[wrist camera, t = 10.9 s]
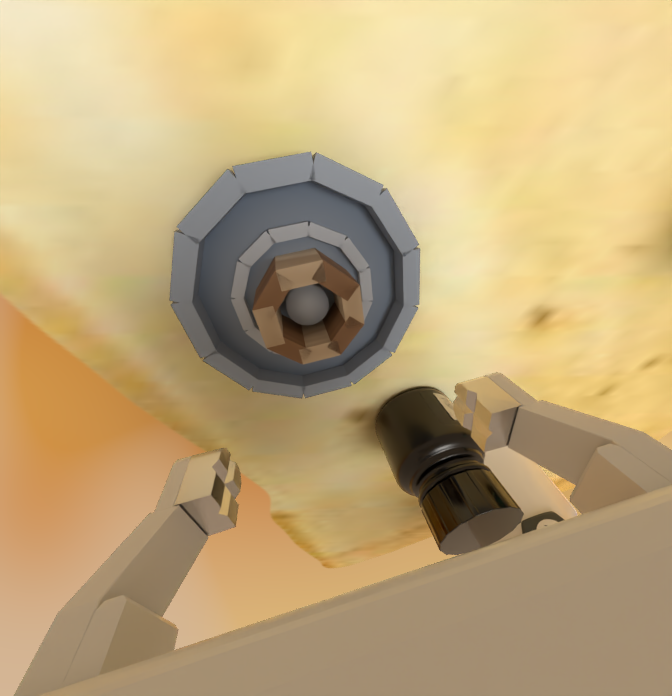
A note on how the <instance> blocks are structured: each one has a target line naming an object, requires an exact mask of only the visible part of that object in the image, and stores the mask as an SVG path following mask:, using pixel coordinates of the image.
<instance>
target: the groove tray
mask: <svg viewBox="0 0 672 696" xmlns="http://www.w3.org/2000/svg"><path fill="white" fill-rule="evenodd" d="M232 167H233V170H234V173H235V174H234V173H233V172H232V171H231V170H229V169H227V170H226V171H225V172H224V174H223V175H222V176H221V177H220V178H219V179H218V180H217V182H216V183H215V184H214V185H213V186H212V187H211V188H210V189H209V191H208V192H207V193H206V194H205V195H204V196H203V197H202V198H201V200H200V201H199V202H198V203H197V204H196V205H195V206H194V208H193V209H192V210H191V211H190V212H189V213H188V214H187V215H186V217H185V218H184V219H183V220H182V221H181V222H180V223H179V225H178V226H177V228H179V230H177V231H175V233H174V246H173V260H172V274H171V287H170V301H174V302H173V303H172V304H171V306H172V308H173V310H174V312H175V314H176V315H177V317H178V319H179V321H180V323H181V324H182V326H183V328H184V330H185V332H186V333H187V335H188V337H189V339H190V341H191V342H192V344H193V346H194V348H195V350H196V351H197V353H198V355H199V357H200V358H202V357H204V360H203V361H204V362H206V363H207V364H209V365H210V366H212V367H213V368H215V369H216V370H218V371H220V372H221V373H223V374H224V375H226V376H227V377H229V378H231V379H232V380H234V381H235V382H237V383H238V384H240V385H242V386H243V387H245V388H246V389H248V390H250V389H251V388H252V387H253V390H252V391H253V392H260V393H267V394H274V395H282V396H289V397H296V398H302V397H303V394H304V396H305V398H308V397H311V396H315V395H319V394H323V393H326V392H330V391H334V390H338V389H341V388H345V387H349V386H351V382H352V383H353V384H356V383H357V382H358V381H359V380H361V379H362V378H363V377H365V376H366V375H367V374H368V373H370V372H371V371H372V370H374V369H375V368H376V367H378V366H379V365H380V364H381V363H383V362H384V361H385V360H387V359H388V358H389V357H391V356H392V354H391V353H390V352H394V353H395V351H396V349H397V347H398V345H399V343H400V341H401V339H402V338H403V336H404V334H405V332H406V330H407V328H408V326H409V324H410V323H411V321H412V319H413V317H414V315H415V313H416V311H417V309H418V307H416V306H415V305H419V284H420V248H417V246H418V245H419V244H418V242H417V240H416V238H415V237H414V235H413V233H412V231H411V230H410V228H409V226H408V224H407V223H406V221H405V219H404V217H403V216H402V214H401V212H400V210H399V209H398V207H397V205H396V203H395V202H394V200H393V198H392V197H391V195H390V193H389V191H388V190H387V188H386V189H382V187H383V185H382V184H380V183H378V182H376V181H374V180H372V179H370V178H368V177H366V176H364V175H362V174H360V173H358V172H355V171H353V170H351V169H349V168H347V167H345V166H343V165H341V164H339V163H337V162H335V161H333V160H331V159H329V158H327V157H325V156H323V155H321V154H319V153H317V152H316V153H315V154H314V155H313V157H312V154H311V152H307V153H301V154H296V155H290V156H285V157H280V158H274V159H269V160H263V161H258V162H253V163H247V164H242V165H236V166H232ZM311 248H316V249H317V250H319V251H320V252H321V253H323V254H324V255H326V256H327V257H329V258H330V259H332V260H333V261H334V262H336V263H337V264H339V265H340V266H342V267H343V268H344V269H346V270H347V271H348V272H349V274H350V275H351V276H352V277H353V278H354V279H355V280H356V281H357V282H358V284H359V285H360V290H361V298H362V307H363V315H364V326H363V327H362V328H361V329H360V331H359V332H358V333H357V335H356V336H355V337H354V339H353V340H352V341H351V342H350V344H349V345H348V346H347V348H346V349H345V350H344V352H343V353H342V354H340V355H339V356H335V357H331V358H327V359H323V360H319V361H315V362H311V363H307V364H304V365H303V364H300V363H298V362H296V361H293V360H291V359H289V358H287V357H284V356H282V355H280V354H278V353H275V352H273V351H271V350H269V349H267V348H266V346H265V343H264V341H263V338H262V335H261V333H260V330H259V327H258V325H257V322H256V319H255V317H254V314H253V311H252V309H253V304H254V298H255V292H256V289H257V287H258V285H259V284H260V282H261V280H262V278H263V276H264V275H265V273H266V271H267V269H268V268H269V266H270V264H271V262H272V261H273V259H274V257H275V256H279V255H283V254H288V253H293V252H297V251H302V250H306V249H311ZM334 302H335V301H334V295H333V292H332V291H330V290H329V289H327V288H326V287H324V286H322V285H321V284H319V283H317V284H312V285H308V286H304V287H299V288H295V289H291V290H289V292H288V294H287V295H286V297H285V299H284V300H283V302H282V303H281V305H280V310H281V314H282V315H284V316H286V317H288V318H290V319H292V320H293V321H295V322H296V323H298V324H301V325H313V324H316V323H318V322H320V321H321V320H322V319H323V318H324V317H325V316H326V314H327V312H328V311H329V309H330V308H331V306H332V305H333V303H334Z"/></svg>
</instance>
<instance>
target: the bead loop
mask: <svg viewBox="0 0 672 696" xmlns="http://www.w3.org/2000/svg"><path fill="white" fill-rule="evenodd" d="M317 283H319V284H321V285H322V286H324V287H326V288H327V289H329V290H330V291H332V292H333V295H334V301H335V302H334V303H333V305H332V306H331V308H330V309H329V311H328V312H327V314H326V316H325V317H324V318H323V319H322V320H321V321H320V322H318V323H316V324H313V325H301V324H298V323H296V322H295V321H293V320H292V319H290V318H288V317H286V316H284V315H282V314H281V310H280V305H281V303H282V302H283V300H284V299H285V297H286V295H287V294H288V292H289V290H291V289H295V288H299V287H304V286H308V285H312V284H317ZM252 311H253V314H254V317H255V319H256V322H257V325H258V327H259V330H260V333H261V335H262V338H263V341H264V343H265V346H266V348H267V349H269V350H271V351H273V352H275V353H278V354H280V355H282V356H284V357H287V358H289V359H291V360H293V361H296V362H298V363H300V364H303V365H304V364H307V363H311V362H315V361H319V360H323V359H327V358H331V357H335V356H339V355H340V354H342V353H343V352H344V350H345V349H346V348H347V346H348V345H349V344H350V342H351V341H352V340H353V339H354V337H355V336H356V335H357V333H358V332H359V331H360V329H361V328H362V327H363V326H364V315H363V307H362V298H361V290H360V285H359V284H358V282H357V281H356V280H355V279H354V278H353V277H352V276H351V275H350V274H349V272H348V271H347V270H346V269H344V268H343V267H342V266H340V265H339V264H337V263H336V262H334V261H333V260H332V259H330V258H329V257H327V256H326V255H324V254H323V253H321V252H320V251H319V250H317V249H316V248H311V249H306V250H302V251H297V252H293V253H288V254H283V255H279V256H275V257H274V259H273V261H272V262H271V264H270V266H269V268H268V269H267V271H266V273H265V275H264V276H263V278H262V280H261V282H260V284H259V285H258V287H257V289H256V292H255V298H254V304H253V309H252Z"/></svg>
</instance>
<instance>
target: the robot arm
mask: <svg viewBox="0 0 672 696" xmlns="http://www.w3.org/2000/svg"><path fill="white" fill-rule="evenodd" d="M454 392H455V393H456V395H457V398H456V399H455V400H454V402H453V409H454V413H455V416H456V418H457V420H458V421H459V423H460V424H461V425H462V426H463V427H464V428H467V429H469V430H471V437H472V439H473V440H474V441H475V442H476V443H477V445H478V446H479V447H480V448H481V449H482V451H483V452H485V459H484V465H486V466H488V467H489V468H490V469H491V471H492V472H493V473H494V475H495V476H496V477H497V478H498V480H499V481H500V482H501V484H502V485H503V486H504V487H505V489H506V490H507V491H508V493H509V494H510V495H511V497H512V498H513V499H514V500H515V502H516V503H517V504H518V506H519V507H520V508H521V510H522V512H523V513H524V515H523V517H522V520H521V523H519V524H518V525H517V526H516V528H515V529H514V530H513V531H512V532H510V533H509V534H507V535H506V536H504V537H503V538H502V539H500V540H498V541H496V542H494V543H492V544H490V545H488V546H485V547H482V548H479V549H476V550H473V551H470V552H467V553H464V554H461V555H458V556H455V557H452V558H450V559H447V560H444V561H440V562H437V563H434V564H431V565H428V566H425V567H422V568H419V569H417V570H414V571H410V572H407V573H404V574H401V575H399V576H396V577H392V578H389V579H386V580H383V581H380V582H377V583H374V584H371V585H368V586H365V587H362V588H359V589H356V590H354V591H350V592H347V593H344V594H341V595H338V596H335V597H332V598H329V599H326V600H323V601H320V602H317V603H314V604H311V605H308V606H305V607H302V608H299V609H296V610H293V611H291V612H287V613H284V614H281V615H278V616H275V617H272V618H269V619H267V620H263V621H260V622H257V623H255V624H251V625H248V626H246V627H242V628H239V629H236V630H233V631H230V632H227V633H225V634H221V635H219V636H215V637H212V638H209V639H206V640H204V641H200V642H197V643H195V644H191V645H188V646H185V647H182V648H179V649H176V650H174V647H175V643H176V638H177V634H178V629H177V627H176V625H175V624H173V623H171V622H170V621H168V620H166V619H164V618H163V617H162V616H163V615H164V613H165V611H166V609H167V608H168V606H169V604H170V603H171V601H172V599H173V597H174V596H175V594H176V592H177V591H178V589H179V587H180V585H181V584H182V582H183V580H184V579H185V577H186V575H187V573H188V572H189V570H190V568H191V567H192V565H193V563H194V561H195V560H196V558H197V556H198V555H199V553H200V551H201V549H202V548H203V546H204V544H205V543H206V541H207V539H208V536H210V535H212V534H216V533H218V532H222V531H225V530H228V529H231V528H234V527H236V521H237V513H238V504H237V502H236V501H235V498H236V497H237V495H238V494H239V492H240V489H241V475H240V471H239V467H238V466H237V464H236V462H233V461H231V460H230V455H231V454H230V452H229V451H228V450H227V448H221V449H217V450H213V451H209V452H205V453H201V454H197V455H193V456H190V457H186V458H182V459H178V460H177V461H176V462H175V463H174V464H173V466H172V469H171V471H170V473H169V476H168V479H167V481H166V484H165V486H164V489H163V491H162V494H161V496H160V499H159V501H158V504H157V506H156V509H155V511H154V512H153V513H150V514H148V515H147V516H146V517H145V519H144V520H143V521H142V522H141V523H140V524H139V525H138V526H137V527H136V529H134V531H133V532H132V533H131V534H130V535H129V536H128V537H127V538H126V539H125V540H124V541H123V542H122V544H121V545H120V546H119V547H118V548H117V549H116V550H115V551H114V552H113V553H112V554H111V556H110V557H109V558H108V559H107V560H106V561H105V562H104V563H103V564H102V565H101V567H100V568H99V569H98V570H97V571H96V572H95V573H94V574H93V575H92V576H91V577H90V578H89V580H88V581H87V582H86V583H85V584H84V585H83V586H82V587H81V589H80V590H78V592H77V593H76V594H75V595H74V596H73V597H72V598H71V599H70V600H69V601H68V602H67V604H66V605H65V606H64V607H63V608H62V609H61V610H60V611H59V612H58V614H57V615H56V617H55V619H54V621H53V623H52V625H51V627H50V628H49V630H48V632H47V634H46V636H45V638H44V640H43V642H42V644H41V645H40V647H39V649H38V651H37V653H36V655H35V657H34V659H33V660H32V662H31V664H30V666H29V668H28V670H27V672H26V674H25V675H24V677H23V679H22V681H21V683H20V685H19V687H18V689H17V690H16V693H15V694H14V696H672V450H671V449H669V448H667V447H666V446H664V445H663V444H661V443H660V442H658V441H657V440H655V439H653V438H652V437H650V436H649V435H647V434H646V433H644V432H642V431H638V430H635V429H632V428H629V427H626V426H622V425H619V424H616V423H613V422H610V421H607V420H603V419H600V418H597V417H594V416H591V415H587V414H584V413H581V412H578V411H575V410H572V409H568V408H565V407H562V406H559V405H556V404H553V403H549V402H546V401H543V400H541V401H537V400H535V399H534V398H533V397H532V396H530V395H529V394H528V393H526V392H525V391H524V390H522V389H521V388H520V387H518V386H517V385H516V384H515V383H513V382H512V381H511V380H509V379H508V378H507V377H505V376H504V375H503V374H501V373H498V372H496V373H492V374H489V375H485V376H483V377H478V378H475V379H471V380H468V381H464V382H461V383H457V384H456V386H455V391H454ZM539 465H541V466H542V467H544V468H546V469H548V470H550V471H551V472H553V473H555V474H557V475H559V476H560V477H562V478H564V479H566V480H568V481H569V482H571V483H573V484H575V485H576V486H575V488H574V490H573V492H572V494H571V495H570V502H571V503H572V504H573V505H574V506H575V507H576V508H577V509H578V510H579V512H580V513H582V514H581V515H578V516H577V512H576V510H575V509H574V507H573V506H572V505H571V504H570V502H569V501H568V500H567V499H566V498H565V496H564V495H563V494H562V493H561V491H560V490H559V489H558V488H557V487H556V485H555V484H554V483H553V482H552V481H551V479H550V478H549V477H548V476H547V475H546V473H545V472H544V471H543V470H542V469H541V467H540V466H539Z"/></svg>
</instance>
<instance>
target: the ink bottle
mask: <svg viewBox="0 0 672 696" xmlns="http://www.w3.org/2000/svg"><path fill="white" fill-rule="evenodd" d="M376 434H377V437H378V439H379V441H380V444H381V446H382V448H383V451H384V453H385V456H386V458H387V460H388V463H389V465H390V468H391V470H392V472H393V475H394V477H395V479H396V481H397V483H398V485H399V486H400V488H401V489H402V490H403V491H405V492H406V493H408V494H410V495H413V496H416V497H417V498H418V501H419V505H420V507H421V508H422V513H423V515H424V517H425V519H426V521H427V524H428V526H429V528H430V530H431V532H432V534H433V537H434V539H435V541H436V543H437V545H438V547H439V550H440V551H442V552H443V553H445V554H446V555H448V554H451V555H459V554H464V553H467V552H470V551H473V550H476V549H479V548H482V547H485V546H488V545H490V544H492V543H494V542H496V541H498V540H500V539H502V538H503V537H504V536H506V535H507V534H509V533H510V532H512V531H513V530H514V529H515V528H516V526H517V525H518V524H519V523H521V520H522V517H523V515H524V513H523V512H522V510H521V508H520V507H519V506H518V504H517V503H516V502H515V500H514V499H513V498H512V497H511V495H510V494H509V493H508V491H507V490H506V489H505V487H504V486H503V485H502V484H501V482H500V481H499V480H498V478H497V477H496V476H495V475H494V473H493V472H492V471H491V469H490V468H489V467H488V466H486V465H484V459H485V452H483V451H482V449H481V448H480V447H479V446H478V445H477V443H476V442H475V441H474V440H473V439H472V437H471V430H469V429H467V428H464V427H463V426H462V425H461V424H460V423H459V421H458V420H457V418H456V416H455V413H454V409H453V403H452V402H451V401H450V400H449V399H448V397H447V396H446V395H445V394H444V393H442V392H441V391H439V390H436V389H432V388H420V389H415V390H411V391H408V392H405V393H403V394H400V395H398V396H397V397H395V398H393V399H392V400H390V401H389V402H388V403H387V404H386V405H385V406H384V407H383V408H382V410H381V411H380V413H379V415H378V417H377V420H376Z"/></svg>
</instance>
